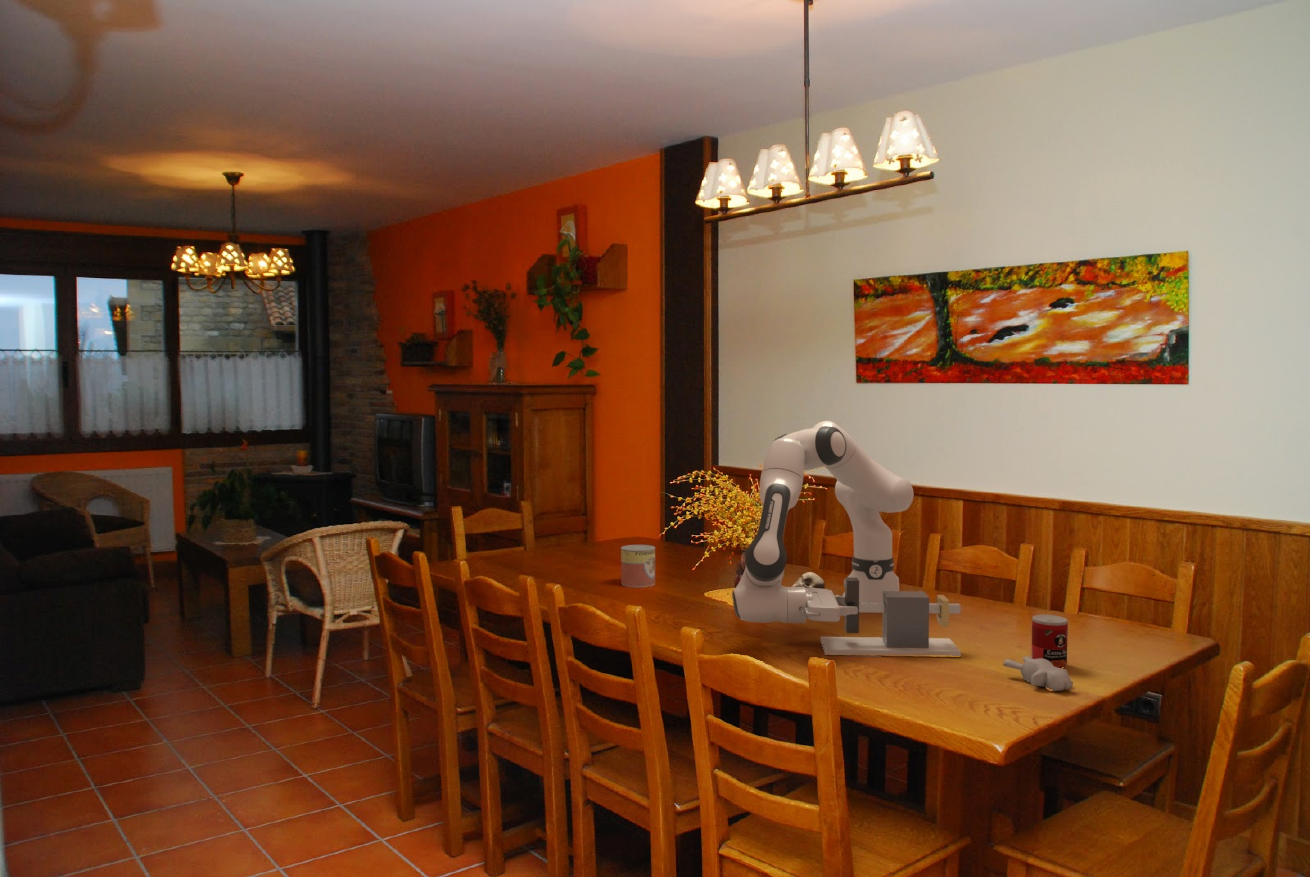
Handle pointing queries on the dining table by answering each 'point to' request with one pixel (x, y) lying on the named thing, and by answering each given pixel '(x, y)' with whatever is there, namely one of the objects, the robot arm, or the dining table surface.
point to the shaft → (875, 606)
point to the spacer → (943, 611)
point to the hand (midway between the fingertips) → (855, 605)
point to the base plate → (884, 647)
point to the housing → (906, 619)
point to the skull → (810, 581)
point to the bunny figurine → (1042, 673)
